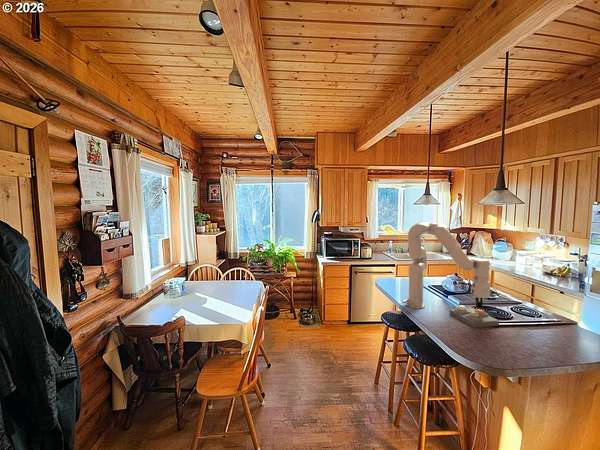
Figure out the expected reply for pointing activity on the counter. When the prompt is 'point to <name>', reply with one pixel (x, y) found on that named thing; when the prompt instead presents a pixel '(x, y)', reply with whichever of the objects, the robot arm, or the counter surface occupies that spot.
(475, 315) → the sage button
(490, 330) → the counter surface
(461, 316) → the button panel
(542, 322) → the counter surface
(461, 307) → the cream button
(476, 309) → the terracotta button
